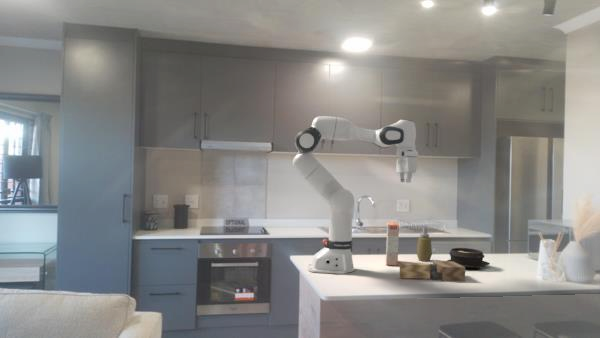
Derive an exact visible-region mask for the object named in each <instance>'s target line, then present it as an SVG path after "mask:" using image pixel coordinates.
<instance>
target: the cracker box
mask: <svg viewBox="0 0 600 338" xmlns="http://www.w3.org/2000/svg"><path fill="white" fill-rule="evenodd" d="M386 225H387V226H386V245H385V246H386V247H385V248H386V252H385V254H386V255H385V256H386V257H385V262H386V266H392V267H393V266H394V267H397V266H398V262H399V261H398V259H399V230H400V229H399V228H400V226H399V223H398V222H396V221H388V222H387V223H386Z"/></svg>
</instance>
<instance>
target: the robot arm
mask: <svg viewBox="0 0 600 338" xmlns="http://www.w3.org/2000/svg"><path fill="white" fill-rule="evenodd" d="M323 139H324V140H332V141H361V142H366V143H372V144H373V145H375V146H377V147H379V148H380V149H387V148H390V147H392V146H396V158H397V159H396V165H395V166H396V167H395V172H396V173H398V175H399V182H400V183H405V182H406V183H407V184H408V183H409V184H410V183H411V182H412V177H413V174H415V173H416V172H417V169H418V168H417V167H418V165H417V164H418V157H419V152H418V150H416V139H417V129H416V124H415V122H414V121H412V120H409V119H399V120H398V121H396V122H394V123H392V124H389V125H386V126H383V127H382V128H379V129H369V128H363V127H359V126H357V125H355V124H354V123H353V122H352V121H351V120H349V119H347V118H343V117H338V116H333V115H332V116H331V115H328V116H327V115H323V116H322V115H318V116H316V117H315V118H314V119H313V120H312V123H311V126H310V127H308V128H305V129H302V130H301V131H299V132H298V133H296V136H295V139H294V146H295V147H296V151H297V154H296V155H295V156H294V157H293V160H292V166H293V167H294V169H295V171H296V172H297V173H298V174H299V176H300V177H301V178H302V179H303V180H304V181H305V182H306V183H307V184H308V185H309V186H310V187H311V188H312V189H313V190H314V191H315V193H317V194H318V195H319V196H320V197H321V198H322V199H323V200H324V201H325V202H326V203H327V204H328V206H330V211H329V212H330V213H329V222H328V239H323V240H322V243H323V245H324V247H323V248H322V249H320V250H318V251H317V252H316V253H315V254H314V255H313V257H312V261H311V262H312V263H310V264H308V265H307V270H308V271H309V272H312V273H319V274H323V273H324V274H339V275H344V274H347V273H351V272H354V271H355V266H354V262H353V251H354V250H353V249H354V248H353V247H354V246H353V245H354V244H353V239H352V238H353V237H352V236H353V234H352V233H353V219H354V212H355V211H354V210H355V197H354V194H353V193H352V191H350V190H349V189H346V188H344V186H343V185H342V183H340V182H339V181H338V180H337V179H336V178H335V176H333V174H332V173H330V171H329V170H328V169H326V167H325V166H324V165H323V164H321V162H320V161H318V160H317V159H316V157H315V156H314V151H315V150H316V149H317V147H318V146H319V143H320V141H321V140H323ZM405 173H406V179H405Z"/></svg>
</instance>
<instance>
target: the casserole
mask: <svg viewBox="0 0 600 338" xmlns="http://www.w3.org/2000/svg"><path fill="white" fill-rule="evenodd" d="M448 254H449V256H450V258H449V259H448V260H446V261H453V262H456V263H458V264H460V265H462V266H464V267H465V270H474V269H475V270H476V269H479V268H484V267H486V266H489V265H490V264H491V263H490V262H489V261H484V260H483V259H484V258H485V255H484V252H483V251H482V250H480V249H475V248H467V247H453V248H451V249H450V251H449V253H448Z"/></svg>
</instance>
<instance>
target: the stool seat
mask: <svg viewBox="0 0 600 338" xmlns="http://www.w3.org/2000/svg"><path fill="white" fill-rule="evenodd" d="M432 264H437V270H432V269H430V278H429V279H430V280H434V281H437V280H439V281H440V280H441V281H442V282H445V281H446V282H447V281H449V282H451V281H452V282H455V281H456V282H457V281H458V282H465V281H466V269H465V267H464V266H462V265H460V264H458V263H456V262H453V261H447V260H445V261H444V260H443V261H440V260H439V261H438V260H435V261H434V260H433V261H432Z"/></svg>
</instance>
